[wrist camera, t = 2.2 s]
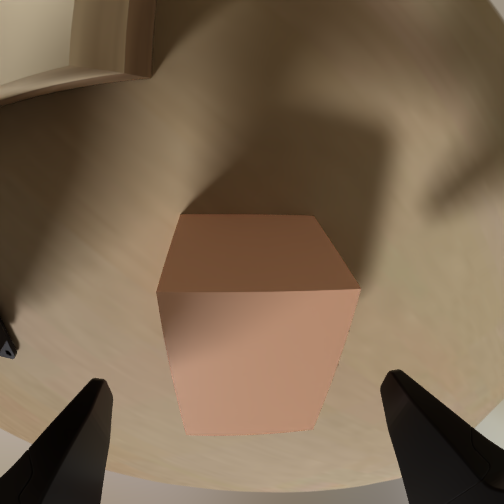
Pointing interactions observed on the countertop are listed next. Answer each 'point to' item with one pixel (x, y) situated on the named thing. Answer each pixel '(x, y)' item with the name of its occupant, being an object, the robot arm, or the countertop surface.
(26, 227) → the countertop surface
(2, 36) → the beige stepped block
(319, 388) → the brick
